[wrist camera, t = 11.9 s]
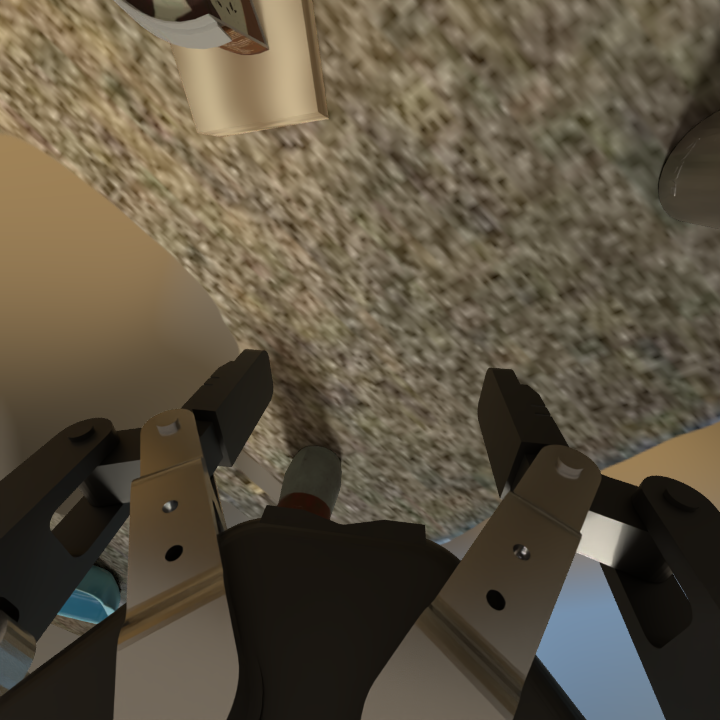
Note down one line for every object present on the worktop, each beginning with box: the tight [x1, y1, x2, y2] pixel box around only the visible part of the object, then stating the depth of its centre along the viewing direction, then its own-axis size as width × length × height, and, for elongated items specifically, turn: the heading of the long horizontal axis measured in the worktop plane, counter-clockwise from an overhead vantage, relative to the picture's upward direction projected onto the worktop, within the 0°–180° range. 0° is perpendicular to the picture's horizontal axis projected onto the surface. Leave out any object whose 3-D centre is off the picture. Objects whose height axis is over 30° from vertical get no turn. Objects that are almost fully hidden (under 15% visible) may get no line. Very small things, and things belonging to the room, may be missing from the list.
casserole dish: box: [57, 565, 120, 624], centre depth 87 cm, size 37×22×7 cm, turn 79°
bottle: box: [277, 446, 342, 520], centre depth 42 cm, size 9×9×30 cm
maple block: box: [170, 0, 329, 137], centre depth 26 cm, size 11×16×5 cm
